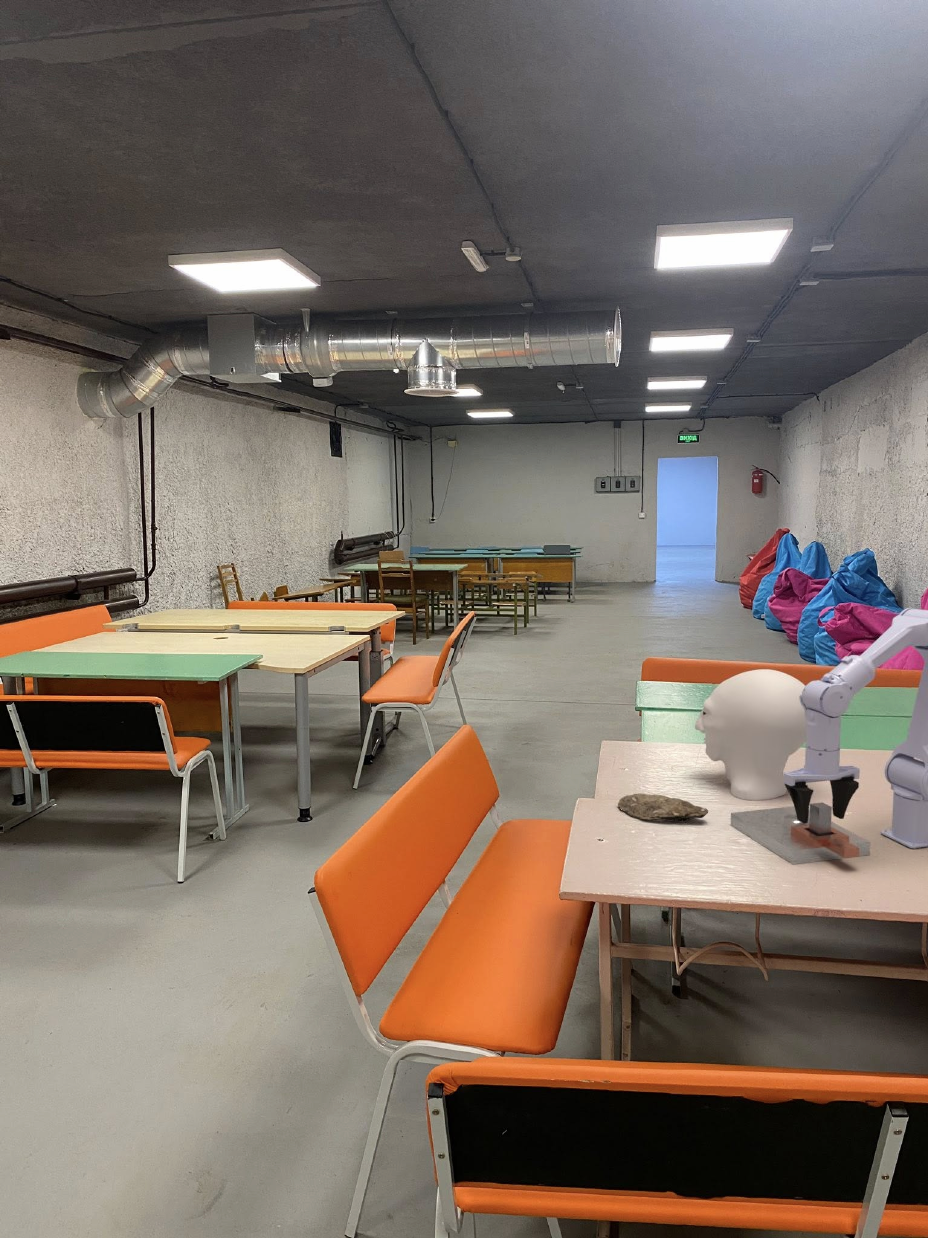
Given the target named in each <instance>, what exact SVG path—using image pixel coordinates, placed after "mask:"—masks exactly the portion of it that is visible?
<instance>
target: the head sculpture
mask: <svg viewBox="0 0 928 1238" xmlns="http://www.w3.org/2000/svg"><path fill="white" fill-rule="evenodd" d="M805 686H806V685H805V684H804V683H803V682H801V681H800V680H799V679H797V678H795V677H794V676H792V675H789V674H788V673H785V672H782V671H778V670H775V669H767V668H765V669H763V668H761V669H753V670H749V671H744V672H741V673H739V674H736V675H733V676H731V677H730V678H728V679H725V680H723V681H722V682H721V683H719V684H718V685H717V686H716V687H715V688H714V689H713V690H712V692H711V694H710V695H709V696H708V698H706V699H705V700H704V702H703V704H702V706H703V709H702V710H701V711H700V712H699V715H698V718H697V719H696V722H694V723H695V724H694V729H695V730H697V731H700V733H702V734H705V736H704V737H705V738H704V739H703V740H704V742H703V743H704V744H705V754H706V755H707V757H709V759H710V760H711V761H714V762H718V761H721V762H722V763H723V765H724V769H725V776H726V778H727V779H728V781H729V782H730V794H731V795H732V796H733V797H735V798H736V799H740V800H744V801H766V800H772V799H776V798H780V797H783V796H785V795H786V793H787V788H786V787H785V783H784V770H785V767H786V765H787V762H788V760H789V757H790V756H791V755H793V754H795V753H796V752H797V751H799V749H801V747H802V746H804V744H806V717H805V710H804V708H803V706H802V705H801V703H800V699H799V696H800V695H802V691H803V689H804V687H805Z"/></svg>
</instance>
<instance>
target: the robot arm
mask: <svg viewBox="0 0 928 1238" xmlns="http://www.w3.org/2000/svg"><path fill="white" fill-rule="evenodd" d="M878 637H879V638H876V640H875V641H874V642H873V643H872V644H871V645H870V646H869V647H868V648H867V649H866V650H865V651H864V652H863V653H861V654H860V655H856V654H851V655H848V656H846V655H844V657H843V658H842V659H841V660H840V661H841V662H840V663H838V665H837V666H835V667H834V668H833V669H831V670H830V671H829V672H827V673H825V674H824V675H823V676H822V678H821V679H820V680H819V679H817V680H811V681H810V682H808V683H807V684H806V685H805V687H804V689H803V691H802V695H800V696H799V699H800V703H801V705H802V706H803V708H804V710H805V717H806V742H805V754H804V755H805V756H804V757H805V759H804V765H803V768H799V769H795V770H792V771H788V772H787V771H786V772H783V775H784V783H785V787H786V791H787V792H788V794H789V796H790V798H791V801H792V803H793V806H794V807H795V811H796V816H797V820H799V821H800V822H802V823H807V822H808V818H809V810H810V804H811V799H812V796H813V793H814V789H812V788H811V787H810V788H809V787H808V783H819V782H827V781H829V783H830V788H831V795H832V801H831V803H832V805H831V807H832V815H833V817H835V818H838V819H840V820H844V818H845V815H846V812H847V809H848V806H849V804H850V801H851V799H852V797H853V796H854V795H855V793H856V791H857V790H858V789H859V787H860V782H858V781H857V780H859V779H860V768H859V767H856V766H854V765H844V766H843V765H840V760H841V759H840V758H841V757H840V756H841V754H840V753H841V729H842V728H841V727H842V726H841V725H842V715H843V714H845V713H847V710H848V709H849V706H850V703H851V701H852V700H853V699H854V697H855V695H856V694H858V693H859V692H860V691H861V690H862V689H864V688H865V687H866V686H867V685H868V684H870V683H871V682H872V681H874V680H875V676H876V669H878V668H879V667H881V665H884V664H885V663H886V662H887V661H889V660H891V659H892V658H893V657H894V656H896V655H897V654H899V653H900V652H901V651H903V650H905V649H906V648H908V647H912V648H913V649H915V650H916V651H917V652H918V653H919V654H920V656H921V657H922V659H923V660H924V664H923V667H922V668H923V669H922V673H921V675H920V680H919V685H918V688H917V693H916V698H915V702H914V705H913V709H912V714H911V719H910V723H909V726H908V731H907V735H906V738H905V740H904V741H903V742H900V743H899V744H896V746H893V749H892V754H891V756H890V757H889V759H888V761H886V763H885V767H884V777H885V780H886V781H887V782H888V783H889V784H890V790H891V791H893V795H892V796H893V797H892V799H893V800H892V816H891V819H892V821H891V829H885V830H880V834H882V835H883V836H885V837H887V838H890V839H891V840H893V841H895V842H897V843H899V844H902V845H904V846H906V847H907V848H910V849H918V848H927V847H928V610H927V609H919V608H918V609H917V608H915V607H907V608H905V609H903V610H902V611H901V612H900V613H899V614H898V615H896V616H894V617H893V618H892V620H891V626H890V627H889V628H888V629H887V630H886V631H884V633H882V634H881V635H880V636H878Z"/></svg>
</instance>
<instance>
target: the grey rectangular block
mask: <svg viewBox="0 0 928 1238" xmlns="http://www.w3.org/2000/svg"><path fill="white" fill-rule="evenodd" d="M809 810H810V819H809V832H810V833H812V834H814V835H816V836H825V835H831V822H832V815H833V810H832V805H829V804H827V803H824V802H823V801H822V802H814V803H813V802H810V805H809Z"/></svg>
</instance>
